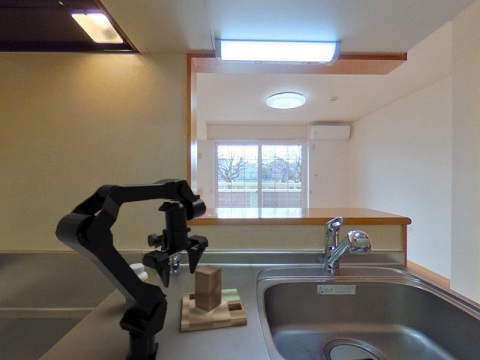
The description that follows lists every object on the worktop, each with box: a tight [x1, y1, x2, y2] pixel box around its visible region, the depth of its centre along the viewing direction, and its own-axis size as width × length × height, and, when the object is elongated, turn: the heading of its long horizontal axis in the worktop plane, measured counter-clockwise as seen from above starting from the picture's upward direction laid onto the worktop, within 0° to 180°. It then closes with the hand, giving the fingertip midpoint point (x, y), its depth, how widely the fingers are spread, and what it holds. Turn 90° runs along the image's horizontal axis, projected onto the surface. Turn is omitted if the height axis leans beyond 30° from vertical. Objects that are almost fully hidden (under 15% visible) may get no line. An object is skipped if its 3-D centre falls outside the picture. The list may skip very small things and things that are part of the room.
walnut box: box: [194, 264, 223, 312], centre depth 78 cm, size 6×6×11 cm
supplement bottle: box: [125, 262, 149, 309], centre depth 81 cm, size 7×7×13 cm
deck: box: [180, 288, 248, 333], centre depth 78 cm, size 18×18×2 cm
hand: (179, 280), depth 70 cm, fingers open, 9 cm apart
